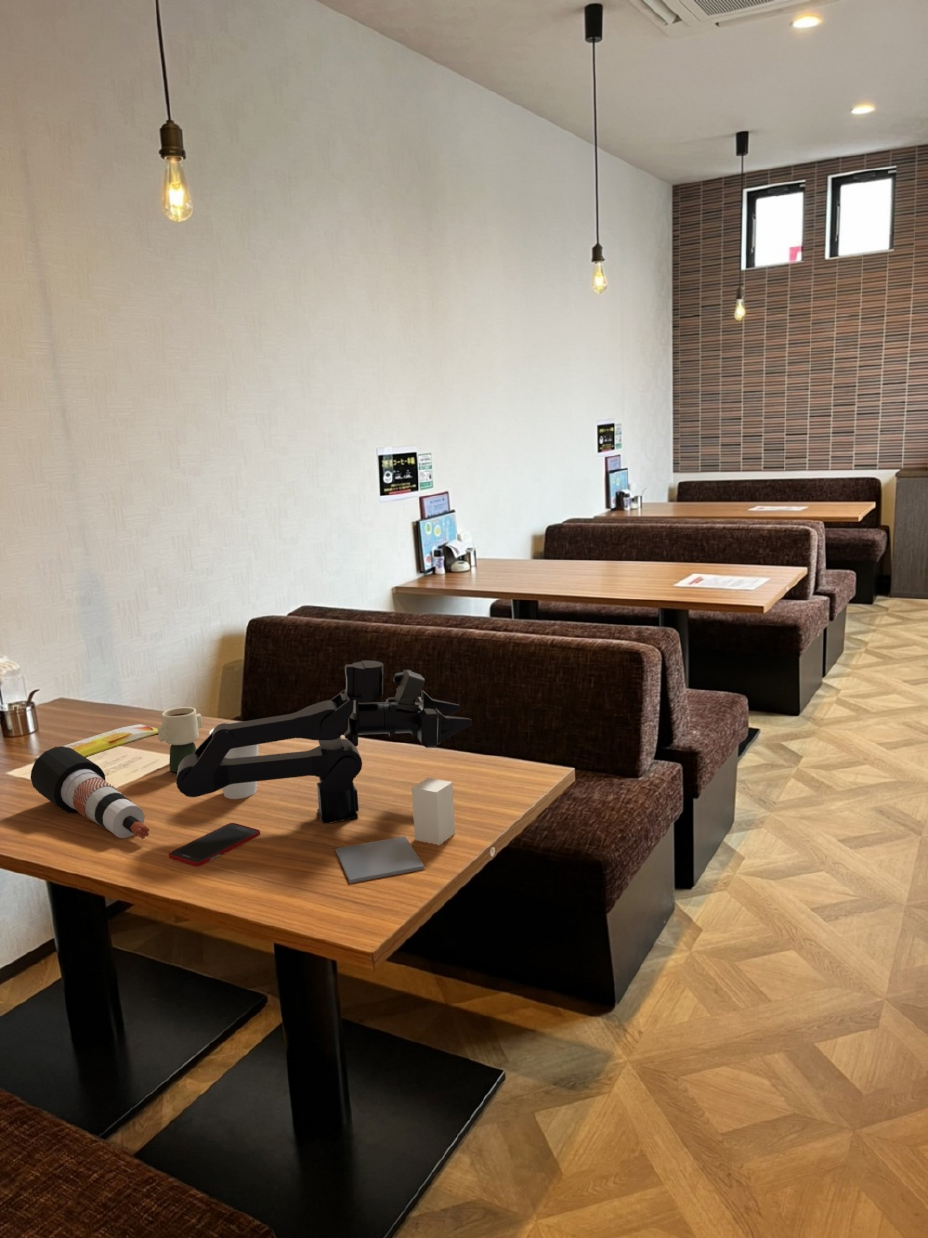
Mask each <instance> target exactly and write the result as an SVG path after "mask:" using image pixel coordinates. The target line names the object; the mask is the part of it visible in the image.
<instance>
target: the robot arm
mask: <svg viewBox="0 0 928 1238" xmlns="http://www.w3.org/2000/svg"><path fill="white" fill-rule="evenodd" d="M344 673H345V689H343V690H342V691H340V692H338V694H337V695H335V696H334V697H333V698H331V699H329V700H323V701H320V702H317V703H313V704H311V705H310V704H309V705H308V706H306V707H304V708H302V709H300V710H298V711H296V712H292V713H288V714H283V715H282V714H281V715H276V716H270V717H269V716H268V717H263V718H257V719H251V720H245V721H238V722H231V724H230V723H225V722H224V723H220V724H217V725H216V726H215V727H213V728H214V730H213V732H212V733H211V734H210V736H207V737H206V738H205V740H204V741H202V742H201V743H200V744H199V746H198V747H196V751H195V752H194V753H193V754H190V755H187V756H186V757H185V758H184V759H183V760H182V761H181V762H180V764H179V766H178V772H176V777H175V778H176V780H175V783H176V788H177V789H178V790H179V792H180V793H182V795H184V796H185V797H187V798H197V797H202V796H206V795H209V794H211V793H215V792H217V791H219V790H221V789H222V788H224V787H226V786H228V785H231V784H237V783H247V782H256V781H257V782H262V781H263V782H264V781H272V780H275V781H276V780H283V779H284V780H285V779H291V778H292V779H293V778H299V777H300V778H302V777H316V778H318V780H319V782H317V783H316V786H317V787H316V788H317V798H318V799H317V801H318V808H317V813H318V816H319V818H320V821H321V823H322V824H332V823H337V822H343V821H344V822H345V821H348V820H355V819H358V818H359V814H358V812H359V810H360V809H359V808H360V807H359V798H358V795H359V794H358V790H357V788H356V786H355V785H354V779H355V778H356V777H357V776H358V775H359V774H360V773H361V770H362V768H363V760H362V756H361V755H360V752H359V750H358V745H359V736H362V735H380V734H381V735H383V734H388V736H389V737H392V738H393V737H396V734H405V733H407V734H408V733H410V734H411V736H413V737H415V736H417V739H418V741H420V744H421V745H423V747H425V748H426V749H431V748H437V747H438V745H440V744H441V742H443V741H445V740H447V739H449V738H450V737H452V736H454V735H455V734H457V733H459V732H461V731H463V730H465V729H467V728H469V727H470V726H472V724H473V720H472V719H471V718H467V717H460V716H452V714H454V713H457V712H460V711H461V705H460V704H458V703H457V704H456V703H453V702H449V701H448V702H447V701H445V700H440V699H439V700H438V699H435V698H433V697H432V698H431V697H430V696H429V695H428V694H427V693H426V691H425V690H423V689H422V688H424V685H425V678H424V677H423V676H422V674H419V673H417V672H413V671H412V670H411V669H403V671H402V672H395V673H394V676H393V679H392V681H393V683H394V684H395V685H396V686H397V687H396V688H395V690H396V693H395V694H394V695H395V696H391V697H388V698H386V699H385V701H381V702H379V701H378V700H379V699H380V698H379V697H382V696H383V694H384V663H383V662H381V661H377V660H366V659H365V660H361V661H358V662H357V661H356V662H353V663H352V664H345V665H344ZM377 701H378V702H377ZM449 715H451V716H449ZM347 722H348V724H347ZM347 725H348V726H347ZM342 735H343V736H344V738H342ZM292 739H304V740H310V741H318V746H316V747H314V748H312V749H310V750H302V751H301V750H300V751H293V752H292V751H291V752H284V753H283V752H282V753H271V754H266V755H265V754H264V755H258V756H252V757H242V758H232V759H230V758H224V757H225V756H226V754H227V753H228V752H229V750H230V749H232V748H239V747H245V746H251V745H257V744H259V745H261V744H268V743H273V742H278V741H279V742H280V741H286V740H292ZM222 790H223V789H222Z"/></svg>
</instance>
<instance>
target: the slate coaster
mask: <svg viewBox="0 0 928 1238" xmlns="http://www.w3.org/2000/svg"><path fill="white" fill-rule="evenodd" d="M335 852H336V854H337V856H338V860H339V861H340V865H341V866H342V869H343V870H344V871H343V872H344V873H345V875H346V879H347V880H348V882H349V884H353V883H359V882H364V881H369V880H370V881H371V880H375V879H380V878H385V877H391V876H397V875H402V874H407V873H412V872H417V871H423V870H425V865H424V863H423V862H422V860H421V858H420V857H419V855H418V854H417V852H416V850H414V847H413V846H412V844H411V843H410V841H409V840H408V838H407V837H406V836H405V835H404V836H399V837H393V838H387V839H382V840H376V841H369V842H365V843H358V844H353V845H348V846H341V847H337V848H336V847H335Z"/></svg>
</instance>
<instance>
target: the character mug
mask: <svg viewBox="0 0 928 1238" xmlns="http://www.w3.org/2000/svg"><path fill="white" fill-rule="evenodd" d="M202 718H203V717H202V715H201V713H197V709H196V708H194V707H191V706H190V707H189V706H184V707H183V706H182V707H173V708H169V709H167V710H164V711H162V712H161V722H162V723H161V725H160V726H158V727H157V729H158V733H157V735H158V741H159V742H161V743H162V742H165V743H166V744H168V745H170V747H169V771H170V772H176V773H177V772H178V766H179V764H180V762H181V761H182V760H183V759H184V758H185V757H186V756H187V755H190V754H193V753H194V752H195V751H196V750H197V746H196V743H195V742H196V741H197V740H198V739H199V735H200V733H199V730H200V729H201V728H203V719H202Z"/></svg>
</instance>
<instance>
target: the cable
mask: <svg viewBox="0 0 928 1238" xmlns="http://www.w3.org/2000/svg"><path fill="white" fill-rule="evenodd" d="M63 746H64V745H62V746H55V747H53V748H49V749H48V750H47V749H46V750H45V751H44V752H43V753H42V754H40V755H41V756H40V755H38V756H39V757H38V758H36V760H35V762H34V763H33V765H32V768H31V770H30V771H31V772H30V781H31V785H32V787H33V788H34V789H35V790H36V792H38V793H39V794H40V795H42V796H43V797H44V798H45V799H46V800H48V801H49V802H51V803H52V804H53V805H54V806H56V807H57V808H59V810H61V811H63V812H65V813H68V814H76V813H79V814H80V815H81V816H82V817H85V818H87V819H88V820H90V821H91V822H95V823H96V824H97V825H98V826H101V827H103V828H104V829H105V830H107V831H109V832H111V833H112V834H113V835H115V836H116V837H117V838H120V839H128V838H129V837H132V836H135V837H138V838H140V839H142V840H143V839H145V838H146V837H149V832H150V828H149V827H148V826H147V825H145V823H144V822H145V813H144V811H143V809H142V808H141V807H139V806H138V805H137V804H135V803H133V802H132V800H130V799H129V798H127V797H126V796H125V795H124V794H123V793H122V792H120V791H119V790H118V788H117V787H115V786H114V785H111V784H110V783H109V782H107V780H106V774H105V773H104V770H103V769H102V768H101V767H100V766H99V765H98V764H96V762H93V761H91V760H90V759H88V758H87V757H84V756H82V755H81V754H79V753H78V752H76V751H75V750H73V749H71V748H69V747H63Z"/></svg>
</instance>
